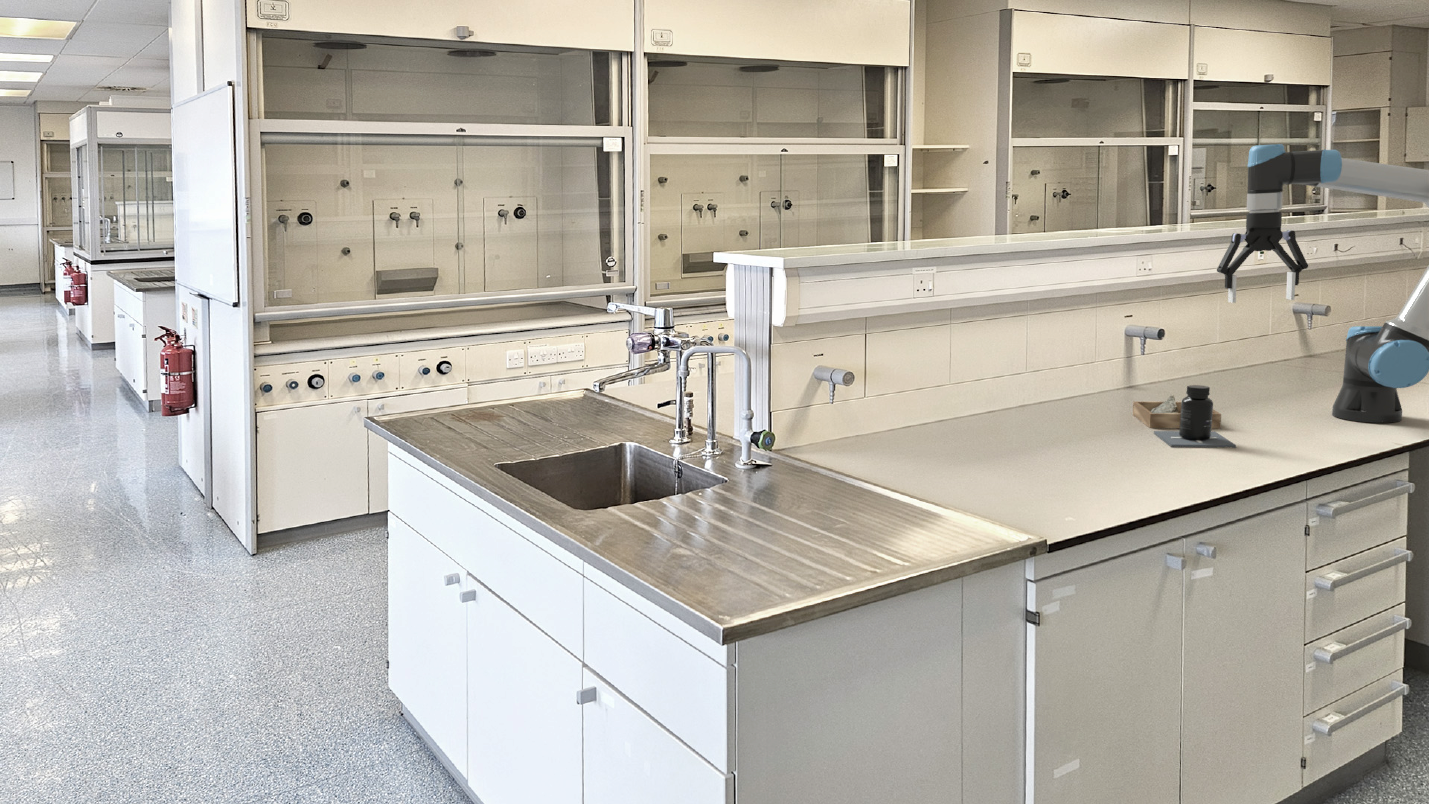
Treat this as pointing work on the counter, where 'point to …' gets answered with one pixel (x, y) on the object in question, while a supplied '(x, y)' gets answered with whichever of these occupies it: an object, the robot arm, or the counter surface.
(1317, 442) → the counter surface
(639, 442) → the counter surface
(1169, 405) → the rock sample
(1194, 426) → the supplement bottle
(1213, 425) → the tray
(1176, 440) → the rest mat
